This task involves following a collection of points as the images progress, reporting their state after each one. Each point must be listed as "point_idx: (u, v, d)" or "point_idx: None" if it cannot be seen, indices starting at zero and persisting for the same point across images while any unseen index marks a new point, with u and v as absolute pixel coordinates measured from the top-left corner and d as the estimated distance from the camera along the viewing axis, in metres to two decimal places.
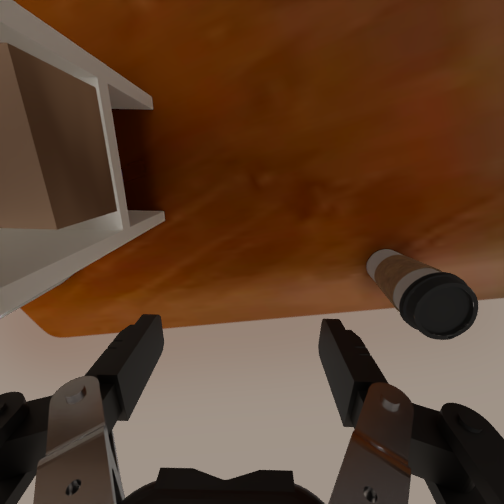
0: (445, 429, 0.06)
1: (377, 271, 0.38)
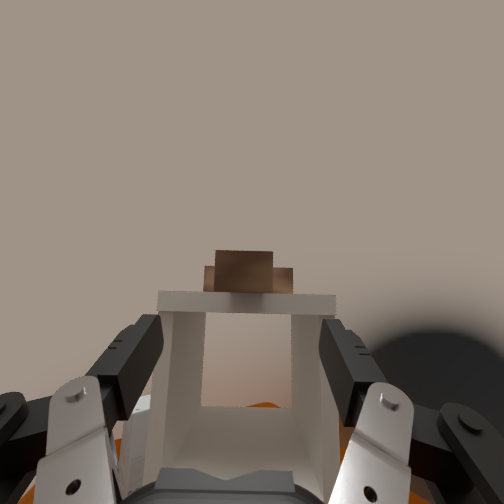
0: (445, 429, 0.06)
1: None
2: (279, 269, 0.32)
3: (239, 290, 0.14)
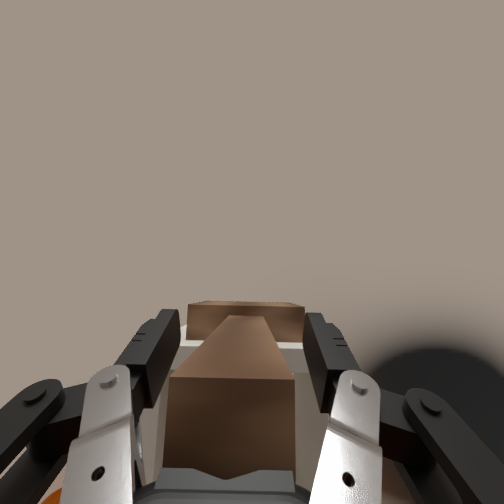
0: (410, 415, 0.07)
1: None
2: (286, 309, 0.24)
3: (220, 477, 0.06)
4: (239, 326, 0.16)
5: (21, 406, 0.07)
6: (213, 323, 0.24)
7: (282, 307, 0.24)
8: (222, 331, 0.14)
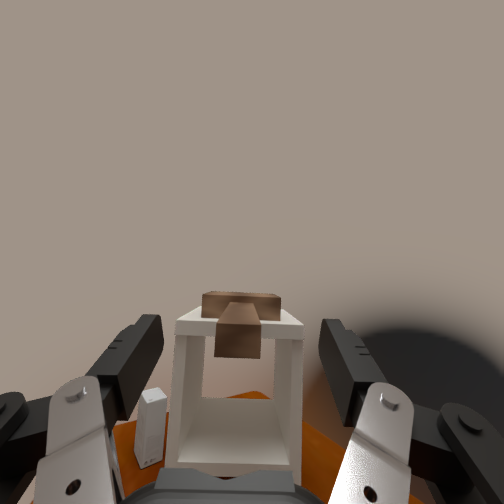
0: (445, 429, 0.06)
1: None
2: (269, 298, 0.35)
3: (234, 356, 0.18)
4: (238, 308, 0.28)
5: None
6: (219, 307, 0.35)
7: (266, 297, 0.35)
8: (229, 310, 0.25)
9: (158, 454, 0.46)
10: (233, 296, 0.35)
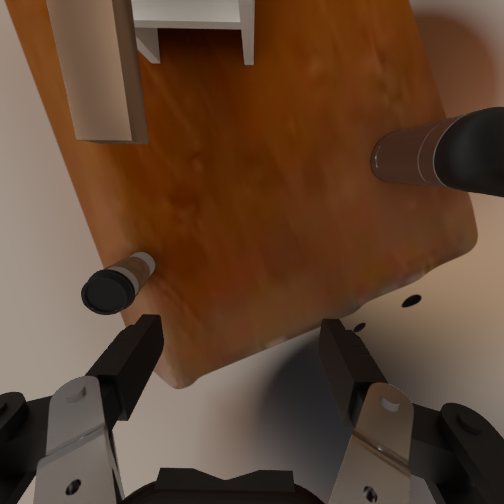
0: (445, 429, 0.06)
1: (133, 257, 0.49)
2: None
3: (121, 143, 0.17)
4: None
5: None
6: None
7: None
8: None
9: None
10: None
